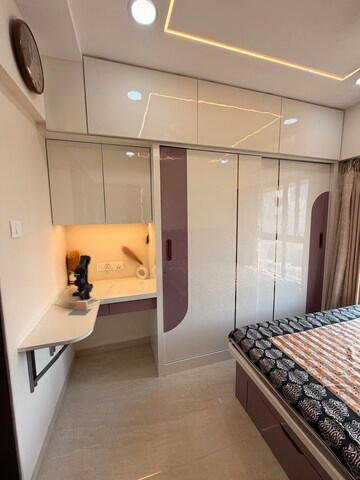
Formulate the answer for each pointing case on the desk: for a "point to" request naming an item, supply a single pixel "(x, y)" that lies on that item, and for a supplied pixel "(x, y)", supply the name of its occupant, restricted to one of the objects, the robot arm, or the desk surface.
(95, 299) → the caliper
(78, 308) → the glazed tile
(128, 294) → the desk surface
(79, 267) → the robot arm
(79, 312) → the rubber mat
